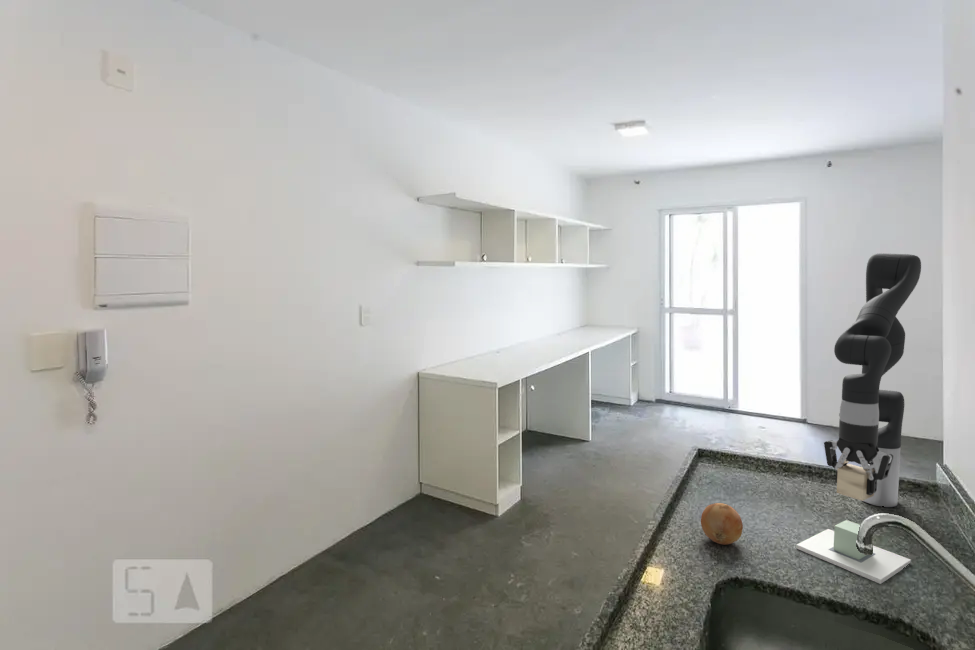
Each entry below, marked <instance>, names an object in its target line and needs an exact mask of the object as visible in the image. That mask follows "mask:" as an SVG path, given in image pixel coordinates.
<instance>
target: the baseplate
mask: <svg viewBox="0 0 975 650" xmlns="http://www.w3.org/2000/svg"><path fill="white" fill-rule="evenodd" d="M795 548H796V549H797V550H799V551H802V552H804V553H806V554H809V555H810V556H813V557H815V558H817V559H820V560H823V561H825V562H828V563H830V564H832V565H835V566H836V567H839V568H842V569H844V570H846V571H849V572H851V573H853V574H856V575H858V576H860V577H863V578H865V579H868V580H870V581H873V582H875V583H877V584H880V585H881V584H882V583H884V582H886V581H887V580H889V579H890V578H892V577H893V576H894V575H896V574H898V573H899V572H901V571H902V570H903V568H904V567H905V568H907V567H908V566H909V565H908V564H909V563H910V562H911V563H912V559H910V558H908V557H905V556H902V555H899V554H897V553H894V552H893V551H889V550H886V549H883V548H881V547H878V546H875V545H873V554H872V555H866V556H865V557H863V558H861V559H859V560H858V559H856V558H853V557H851V556H848V555H846V554H843V553H841V552H838V551H836V550H833V549H834V529H833V530H832V529H830V528H826V529H825V530H823V531H821V532H819V533H817V534H815V535H813V536H811V537H808V538H807V539H805V540H802V541H801V542H799V543H796V547H795ZM907 565H908V566H907ZM906 566H907V567H906ZM905 568H904V569H905Z"/></svg>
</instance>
